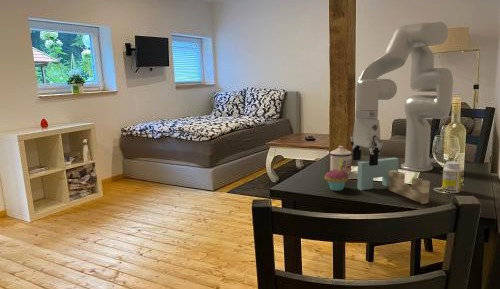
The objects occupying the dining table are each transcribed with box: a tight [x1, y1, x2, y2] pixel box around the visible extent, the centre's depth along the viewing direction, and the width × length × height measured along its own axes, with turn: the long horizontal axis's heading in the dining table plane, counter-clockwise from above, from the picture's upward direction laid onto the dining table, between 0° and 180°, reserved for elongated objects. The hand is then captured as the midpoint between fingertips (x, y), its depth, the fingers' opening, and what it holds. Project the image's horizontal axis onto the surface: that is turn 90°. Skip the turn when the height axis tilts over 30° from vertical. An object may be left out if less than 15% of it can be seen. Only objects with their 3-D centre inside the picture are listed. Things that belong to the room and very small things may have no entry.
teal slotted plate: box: [356, 157, 400, 191], centre depth 136 cm, size 16×2×10 cm, turn 109°
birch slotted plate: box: [388, 170, 431, 205], centre depth 125 cm, size 16×2×7 cm, turn 19°
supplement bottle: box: [441, 160, 462, 194], centre depth 128 cm, size 6×6×10 cm
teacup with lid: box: [329, 145, 353, 176], centre depth 157 cm, size 12×9×12 cm
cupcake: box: [324, 157, 349, 191], centre depth 135 cm, size 9×8×12 cm
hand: (364, 162), depth 133 cm, fingers open, 9 cm apart
